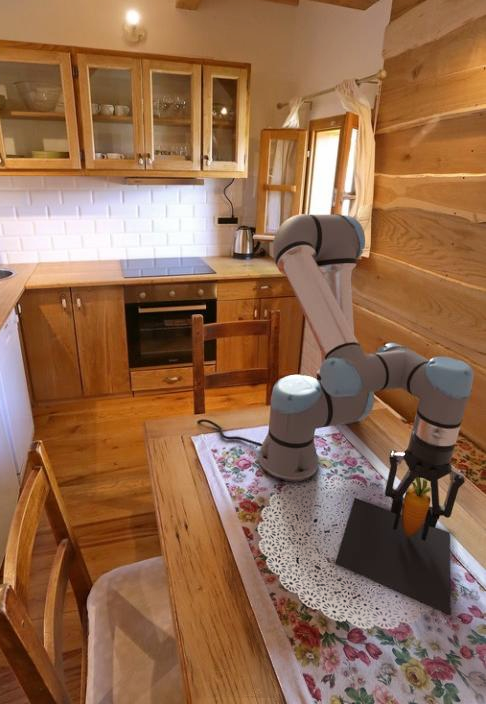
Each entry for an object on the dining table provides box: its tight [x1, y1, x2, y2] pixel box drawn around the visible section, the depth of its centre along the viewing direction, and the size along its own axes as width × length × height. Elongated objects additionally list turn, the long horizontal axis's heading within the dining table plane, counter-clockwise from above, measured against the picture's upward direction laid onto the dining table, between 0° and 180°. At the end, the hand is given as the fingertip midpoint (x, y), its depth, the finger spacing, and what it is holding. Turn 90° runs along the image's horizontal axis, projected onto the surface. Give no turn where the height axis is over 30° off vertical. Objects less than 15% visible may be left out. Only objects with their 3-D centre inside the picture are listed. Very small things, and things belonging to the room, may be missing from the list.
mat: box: [334, 497, 451, 616], centre depth 83 cm, size 20×20×1 cm
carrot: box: [401, 477, 432, 537], centre depth 83 cm, size 5×5×15 cm
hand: (409, 529), depth 85 cm, fingers closed on carrot, 5 cm apart
